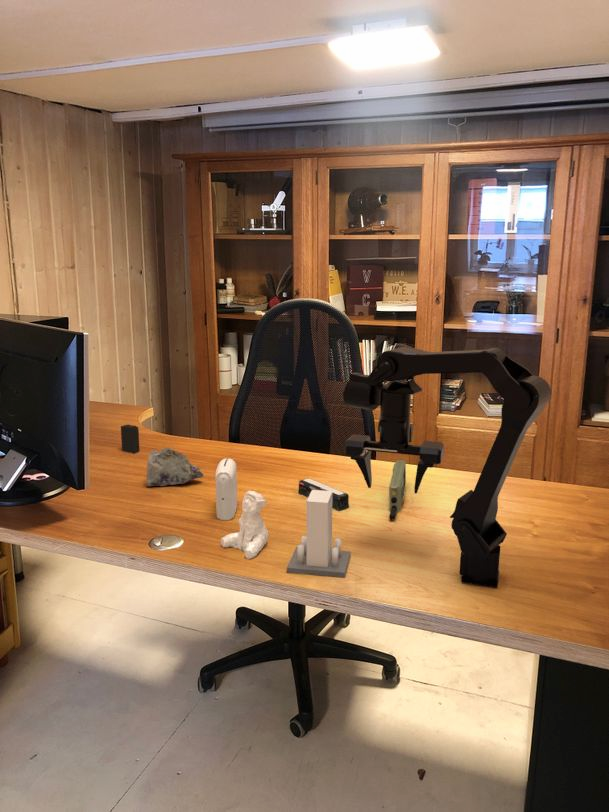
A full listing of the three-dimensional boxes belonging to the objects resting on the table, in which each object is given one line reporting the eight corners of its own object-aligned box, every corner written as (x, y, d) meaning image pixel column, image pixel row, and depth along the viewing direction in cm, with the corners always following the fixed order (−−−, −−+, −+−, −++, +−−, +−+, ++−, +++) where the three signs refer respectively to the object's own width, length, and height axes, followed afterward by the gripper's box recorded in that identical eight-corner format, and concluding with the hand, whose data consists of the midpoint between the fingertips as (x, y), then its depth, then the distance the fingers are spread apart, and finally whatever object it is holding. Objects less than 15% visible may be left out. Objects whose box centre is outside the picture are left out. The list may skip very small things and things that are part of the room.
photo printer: (234, 520, 150) (232, 468, 147) (215, 520, 150) (213, 468, 147) (239, 503, 160) (237, 454, 157) (221, 503, 160) (219, 454, 157)
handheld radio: (407, 484, 172) (399, 523, 148) (394, 484, 173) (385, 522, 149) (407, 460, 171) (399, 495, 147) (394, 459, 171) (384, 494, 148)
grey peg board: (350, 555, 133) (350, 534, 132) (344, 577, 124) (345, 555, 123) (296, 551, 135) (296, 530, 134) (286, 572, 126) (286, 550, 125)
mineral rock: (206, 482, 174) (204, 445, 171) (179, 496, 165) (177, 457, 162) (168, 474, 180) (166, 438, 178) (140, 486, 171) (137, 449, 168)
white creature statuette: (218, 546, 137) (216, 491, 134) (249, 533, 143) (248, 480, 140) (249, 560, 131) (248, 503, 128) (280, 546, 137) (280, 491, 134)
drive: (332, 553, 132) (332, 491, 129) (327, 567, 126) (327, 502, 123) (312, 551, 132) (312, 489, 129) (306, 565, 127) (306, 501, 124)
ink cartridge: (139, 451, 199) (138, 426, 197) (134, 454, 198) (133, 428, 196) (127, 449, 202) (126, 423, 200) (122, 451, 200) (120, 425, 198)
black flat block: (332, 522, 150) (332, 505, 149) (266, 492, 169) (266, 476, 168) (377, 506, 159) (378, 490, 158) (310, 479, 178) (310, 464, 177)
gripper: (449, 407, 133) (445, 481, 136) (358, 400, 138) (356, 472, 142) (442, 421, 122) (438, 501, 126) (343, 413, 128) (342, 490, 132)
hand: (392, 490), depth 132 cm, fingers open, 9 cm apart
